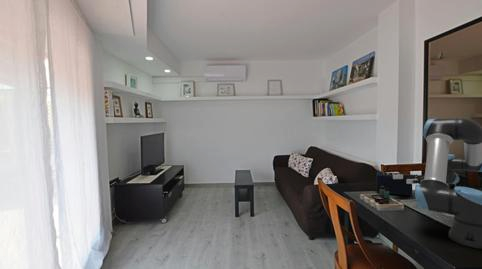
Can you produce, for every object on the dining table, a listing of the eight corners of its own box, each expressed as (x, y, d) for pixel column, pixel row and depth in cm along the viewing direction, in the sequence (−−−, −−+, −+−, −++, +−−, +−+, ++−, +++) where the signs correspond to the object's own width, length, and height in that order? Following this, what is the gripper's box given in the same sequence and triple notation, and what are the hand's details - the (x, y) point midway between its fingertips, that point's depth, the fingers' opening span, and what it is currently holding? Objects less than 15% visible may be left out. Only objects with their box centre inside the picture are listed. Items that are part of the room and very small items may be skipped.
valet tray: (403, 210, 151) (403, 204, 151) (378, 211, 151) (378, 205, 151) (382, 198, 173) (382, 193, 173) (360, 199, 173) (360, 194, 173)
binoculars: (368, 186, 166) (384, 184, 166) (370, 201, 167) (385, 200, 166) (375, 190, 157) (391, 188, 157) (377, 206, 158) (393, 204, 158)
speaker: (409, 192, 185) (409, 172, 184) (412, 197, 174) (412, 176, 173) (376, 189, 195) (376, 170, 194) (376, 194, 184) (376, 174, 183)
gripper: (448, 189, 150) (413, 189, 150) (418, 180, 175) (388, 180, 175) (448, 176, 150) (413, 177, 149) (418, 169, 175) (388, 169, 174)
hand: (399, 179), depth 162 cm, fingers open, 13 cm apart
